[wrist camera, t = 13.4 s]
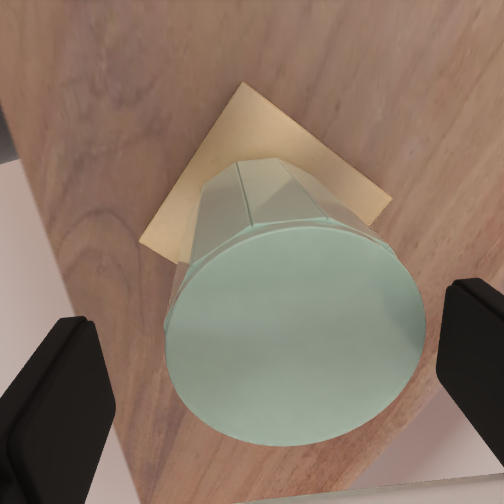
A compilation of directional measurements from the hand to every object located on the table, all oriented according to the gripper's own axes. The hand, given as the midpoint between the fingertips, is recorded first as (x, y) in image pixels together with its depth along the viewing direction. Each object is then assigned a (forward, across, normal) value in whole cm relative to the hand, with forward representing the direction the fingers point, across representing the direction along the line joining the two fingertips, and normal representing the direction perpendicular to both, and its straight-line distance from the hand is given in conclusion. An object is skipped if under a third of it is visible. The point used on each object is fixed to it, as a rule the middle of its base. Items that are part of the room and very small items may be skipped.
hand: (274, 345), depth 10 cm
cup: (+9, 0, 0) cm, 9 cm away
